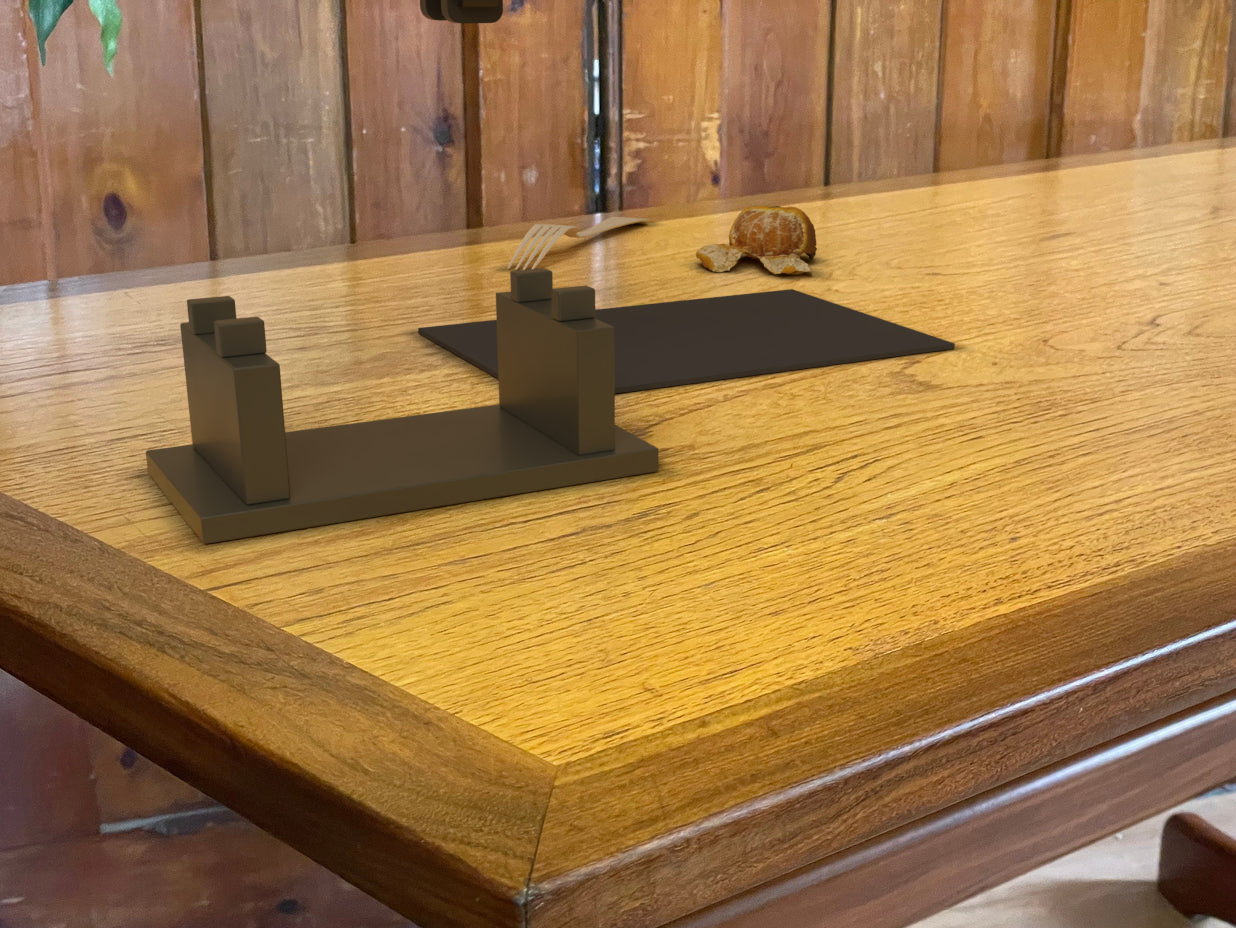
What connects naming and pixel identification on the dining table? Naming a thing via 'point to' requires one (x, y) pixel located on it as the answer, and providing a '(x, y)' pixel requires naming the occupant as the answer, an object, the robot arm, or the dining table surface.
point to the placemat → (719, 338)
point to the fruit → (765, 240)
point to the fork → (566, 230)
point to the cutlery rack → (395, 426)
